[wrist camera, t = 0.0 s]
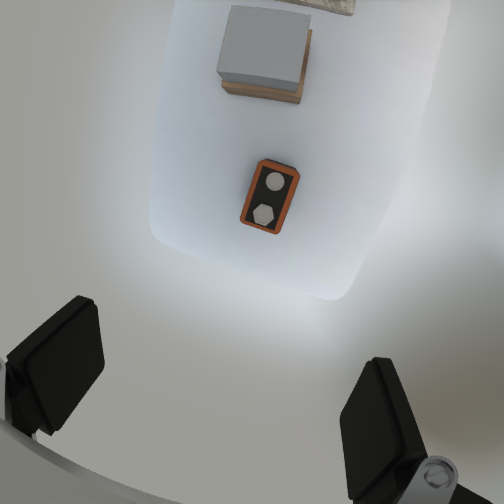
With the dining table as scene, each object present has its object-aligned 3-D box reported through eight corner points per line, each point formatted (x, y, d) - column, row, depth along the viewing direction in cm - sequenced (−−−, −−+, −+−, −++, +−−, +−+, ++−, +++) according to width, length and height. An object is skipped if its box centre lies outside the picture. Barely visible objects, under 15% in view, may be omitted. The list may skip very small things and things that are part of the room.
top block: (238, 23, 27) (231, 5, 22) (307, 32, 27) (310, 15, 22) (225, 82, 30) (216, 71, 25) (296, 92, 30) (298, 82, 25)
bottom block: (240, 34, 32) (235, 20, 27) (309, 43, 31) (312, 29, 27) (229, 94, 35) (221, 86, 30) (299, 104, 34) (301, 97, 30)
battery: (248, 206, 39) (236, 224, 30) (265, 157, 37) (258, 158, 27) (279, 218, 39) (278, 239, 30) (297, 168, 37) (302, 174, 27)
